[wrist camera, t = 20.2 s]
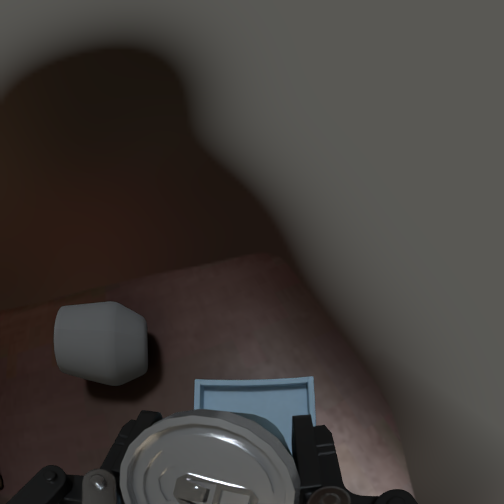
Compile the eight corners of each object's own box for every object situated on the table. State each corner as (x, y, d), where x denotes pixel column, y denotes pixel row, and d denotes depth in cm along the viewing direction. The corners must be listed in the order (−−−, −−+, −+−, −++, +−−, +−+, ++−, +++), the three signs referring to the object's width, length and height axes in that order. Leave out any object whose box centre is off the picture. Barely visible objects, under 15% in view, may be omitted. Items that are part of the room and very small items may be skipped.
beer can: (294, 421, 16) (323, 428, 6) (276, 491, 14) (277, 580, 3) (214, 405, 17) (135, 383, 7) (197, 473, 14) (101, 524, 4)
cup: (149, 391, 30) (72, 385, 27) (146, 321, 35) (75, 316, 32) (149, 380, 23) (48, 372, 19) (147, 289, 28) (57, 282, 24)
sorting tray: (199, 482, 23) (194, 486, 21) (200, 381, 29) (194, 379, 27) (314, 481, 22) (317, 486, 20) (310, 378, 29) (313, 376, 27)
